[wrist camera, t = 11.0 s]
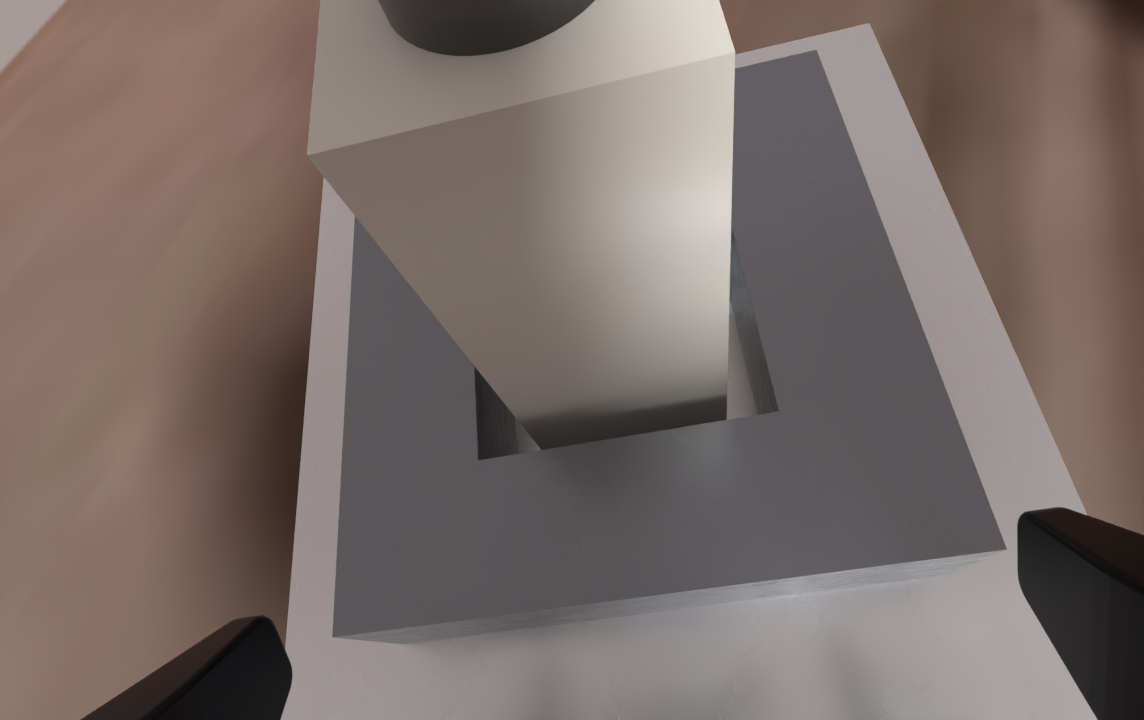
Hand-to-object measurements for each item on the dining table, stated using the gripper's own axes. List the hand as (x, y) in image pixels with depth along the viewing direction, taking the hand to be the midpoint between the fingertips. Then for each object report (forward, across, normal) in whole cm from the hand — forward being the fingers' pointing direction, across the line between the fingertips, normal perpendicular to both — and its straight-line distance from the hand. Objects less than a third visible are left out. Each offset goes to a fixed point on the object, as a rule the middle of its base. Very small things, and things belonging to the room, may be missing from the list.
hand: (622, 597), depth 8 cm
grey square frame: (+10, 0, +1) cm, 10 cm away
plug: (+10, 0, 0) cm, 10 cm away
